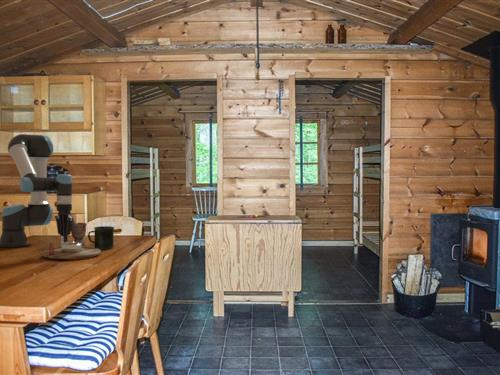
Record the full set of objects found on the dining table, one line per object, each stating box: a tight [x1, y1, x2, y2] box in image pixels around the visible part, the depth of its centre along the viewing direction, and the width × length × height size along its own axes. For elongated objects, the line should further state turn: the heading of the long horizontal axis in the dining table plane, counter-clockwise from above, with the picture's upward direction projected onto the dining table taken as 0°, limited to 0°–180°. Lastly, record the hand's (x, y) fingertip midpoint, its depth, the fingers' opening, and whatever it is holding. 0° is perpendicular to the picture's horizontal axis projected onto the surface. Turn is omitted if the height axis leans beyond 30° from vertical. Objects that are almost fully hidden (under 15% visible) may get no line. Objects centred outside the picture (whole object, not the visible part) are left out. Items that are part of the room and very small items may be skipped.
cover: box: [60, 241, 83, 253], centre depth 234 cm, size 10×10×5 cm
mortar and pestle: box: [70, 211, 87, 247], centre depth 264 cm, size 12×9×20 cm
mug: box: [87, 225, 115, 250], centre depth 256 cm, size 11×15×12 cm
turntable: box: [42, 242, 102, 260], centre depth 233 cm, size 28×28×7 cm
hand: (64, 247), depth 237 cm, fingers closed
